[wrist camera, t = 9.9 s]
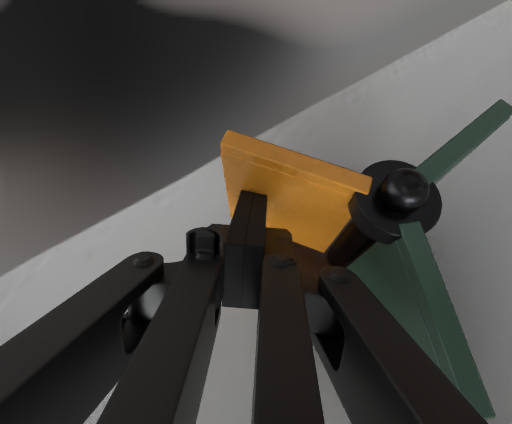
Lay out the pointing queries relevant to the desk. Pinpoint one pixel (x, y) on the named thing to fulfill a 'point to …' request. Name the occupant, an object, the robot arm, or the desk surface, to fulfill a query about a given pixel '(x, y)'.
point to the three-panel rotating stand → (373, 230)
